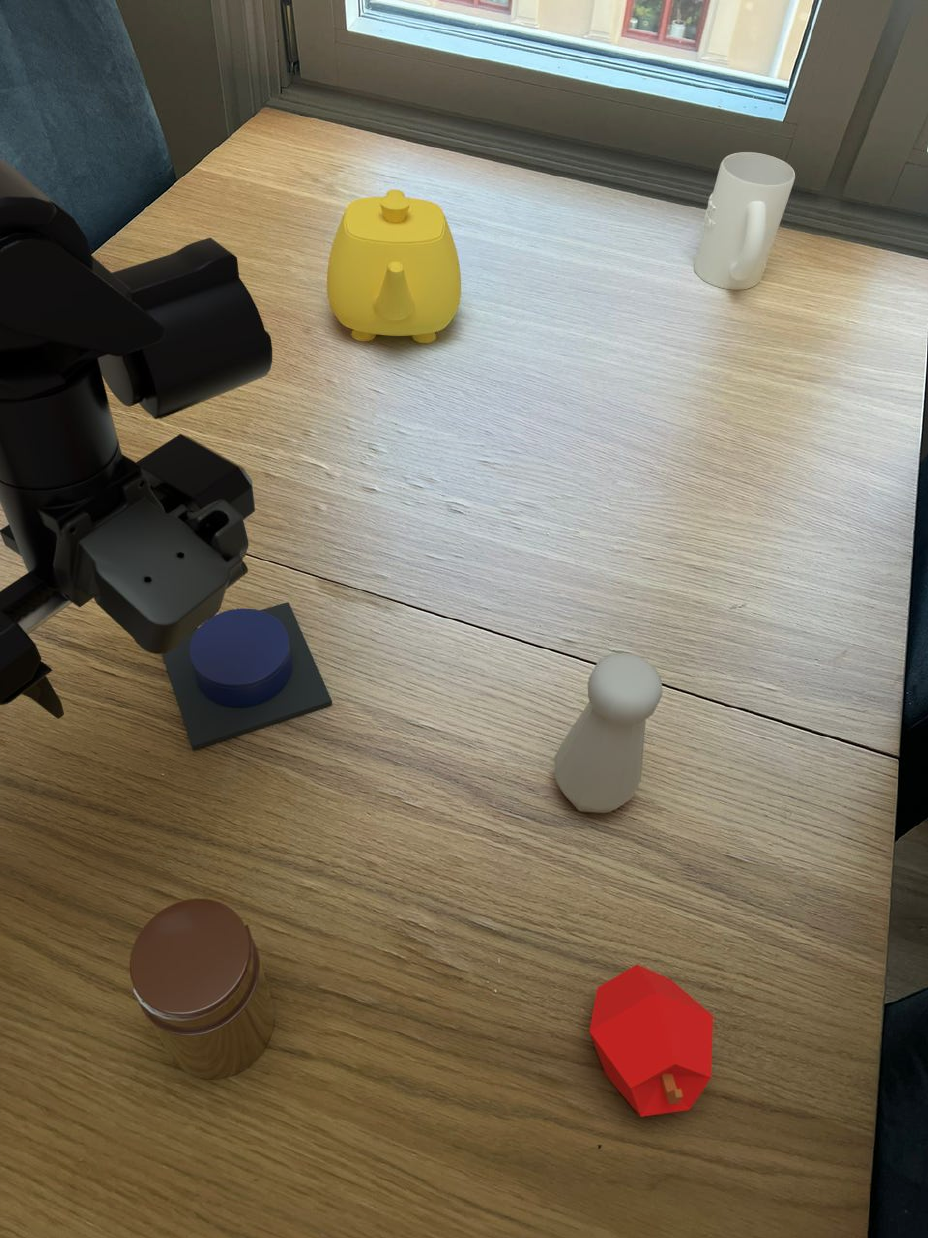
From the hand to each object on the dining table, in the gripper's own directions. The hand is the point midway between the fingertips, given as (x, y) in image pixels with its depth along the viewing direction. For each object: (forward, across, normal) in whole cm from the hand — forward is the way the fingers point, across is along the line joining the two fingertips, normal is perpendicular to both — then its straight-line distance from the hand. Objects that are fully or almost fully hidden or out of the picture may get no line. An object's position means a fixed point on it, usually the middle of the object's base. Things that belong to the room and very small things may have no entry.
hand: (120, 661), depth 54 cm
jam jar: (+12, -9, -15) cm, 21 cm away
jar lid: (+8, +9, +1) cm, 12 cm away
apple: (+12, +3, -35) cm, 37 cm away
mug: (+10, +84, -4) cm, 85 cm away
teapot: (+11, +52, +20) cm, 56 cm away
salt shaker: (+11, +16, -24) cm, 32 cm away
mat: (+11, +9, +1) cm, 15 cm away
